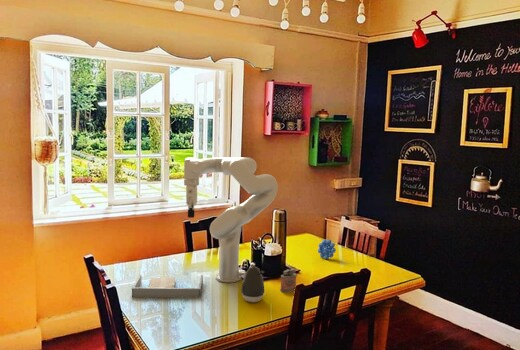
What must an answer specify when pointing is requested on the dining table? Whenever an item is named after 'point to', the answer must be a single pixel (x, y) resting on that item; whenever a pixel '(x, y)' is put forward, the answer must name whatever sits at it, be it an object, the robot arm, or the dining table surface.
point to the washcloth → (162, 282)
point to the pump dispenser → (253, 285)
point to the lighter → (288, 281)
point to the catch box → (165, 291)
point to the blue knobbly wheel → (326, 249)
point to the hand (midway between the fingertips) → (191, 217)
